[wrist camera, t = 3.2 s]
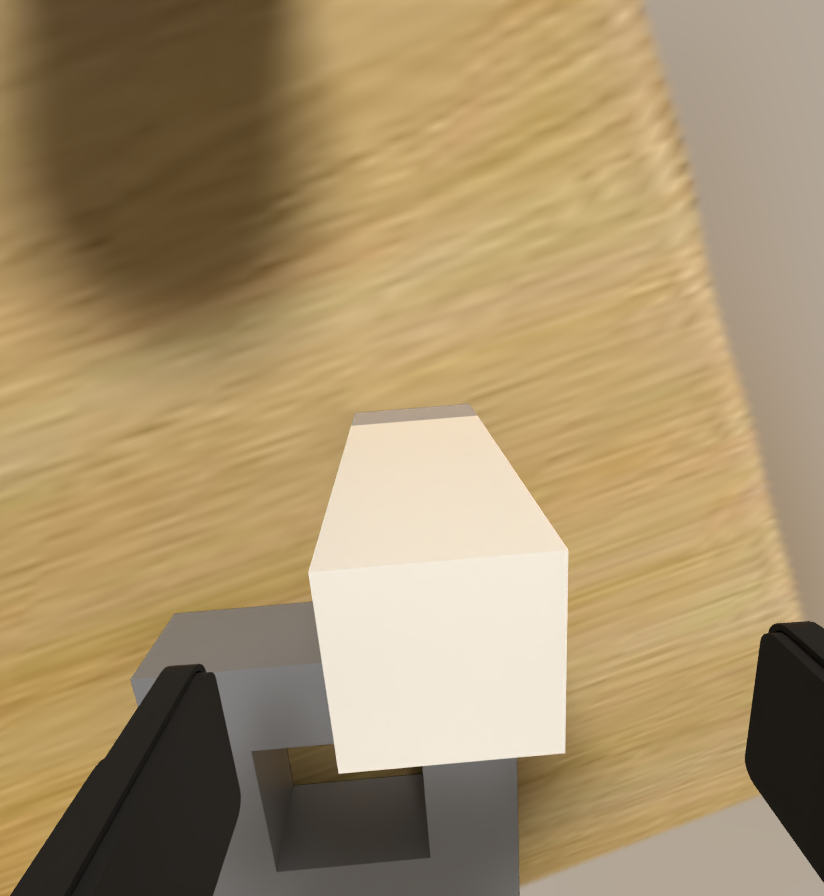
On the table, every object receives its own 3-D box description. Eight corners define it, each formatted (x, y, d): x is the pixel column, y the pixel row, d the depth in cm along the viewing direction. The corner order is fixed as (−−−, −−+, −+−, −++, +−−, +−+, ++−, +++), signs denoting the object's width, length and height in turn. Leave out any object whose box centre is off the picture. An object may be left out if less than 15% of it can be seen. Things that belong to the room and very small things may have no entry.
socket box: (174, 613, 23) (130, 679, 19) (494, 586, 23) (514, 645, 19) (230, 847, 27) (204, 940, 23) (501, 823, 27) (519, 910, 23)
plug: (355, 413, 20) (308, 572, 9) (469, 403, 20) (568, 550, 9) (366, 518, 22) (338, 773, 10) (473, 508, 22) (565, 753, 10)
